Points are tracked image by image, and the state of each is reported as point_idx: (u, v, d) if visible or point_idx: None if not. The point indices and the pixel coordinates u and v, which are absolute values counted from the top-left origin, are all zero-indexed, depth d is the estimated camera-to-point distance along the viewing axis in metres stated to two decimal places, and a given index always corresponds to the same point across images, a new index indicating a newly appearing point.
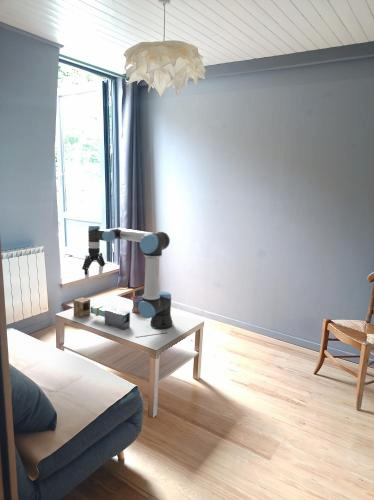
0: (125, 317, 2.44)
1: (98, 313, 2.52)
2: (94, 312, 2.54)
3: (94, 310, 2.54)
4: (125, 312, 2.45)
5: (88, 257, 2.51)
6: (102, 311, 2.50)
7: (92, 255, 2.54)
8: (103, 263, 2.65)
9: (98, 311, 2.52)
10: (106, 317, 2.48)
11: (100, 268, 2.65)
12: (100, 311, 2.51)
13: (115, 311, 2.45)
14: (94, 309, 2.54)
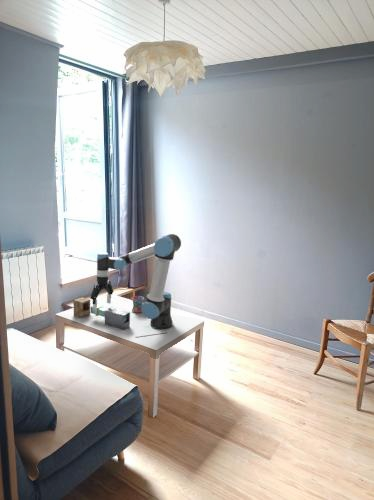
0: (125, 317, 2.44)
1: (98, 313, 2.52)
2: (94, 312, 2.54)
3: (94, 310, 2.54)
4: (125, 312, 2.45)
5: (96, 286, 2.43)
6: (102, 311, 2.50)
7: (101, 284, 2.47)
8: (111, 291, 2.58)
9: (98, 311, 2.52)
10: (106, 317, 2.48)
11: (108, 296, 2.57)
12: (100, 311, 2.51)
13: (115, 311, 2.45)
14: (94, 309, 2.54)
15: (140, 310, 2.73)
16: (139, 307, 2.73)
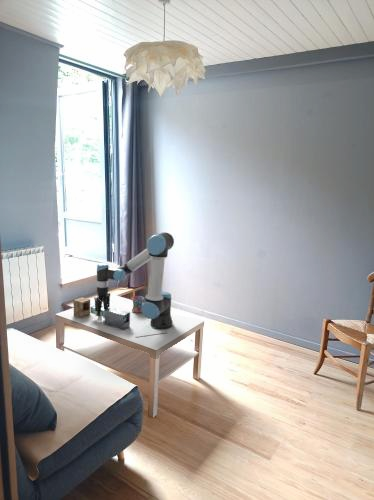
0: (125, 317, 2.44)
1: None
2: (94, 312, 2.54)
3: (94, 310, 2.54)
4: (125, 312, 2.45)
5: (97, 299, 2.45)
6: (102, 311, 2.50)
7: (100, 294, 2.48)
8: (108, 305, 2.56)
9: None
10: (106, 317, 2.48)
11: None
12: None
13: (115, 311, 2.45)
14: (94, 309, 2.54)
15: (140, 310, 2.73)
16: (139, 307, 2.73)
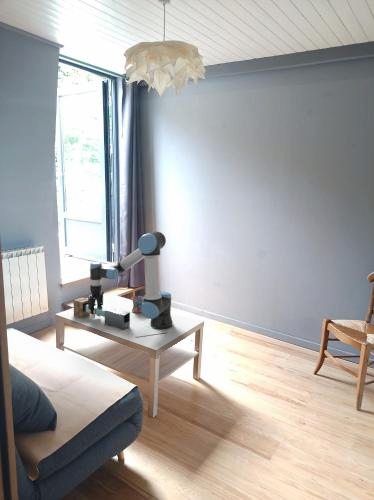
0: None
1: None
2: (88, 310, 2.57)
3: None
4: (125, 312, 2.45)
5: (90, 297, 2.48)
6: (95, 309, 2.53)
7: (93, 293, 2.51)
8: (101, 303, 2.59)
9: None
10: (106, 317, 2.48)
11: None
12: None
13: (115, 311, 2.45)
14: None
15: (140, 310, 2.73)
16: (139, 307, 2.73)
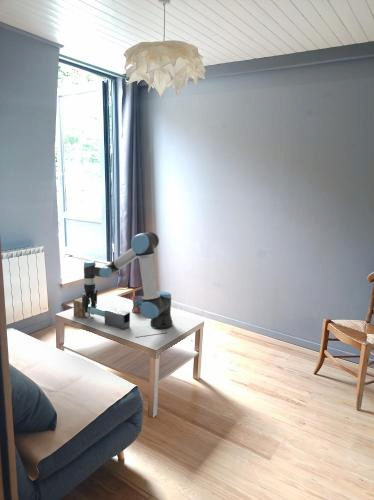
0: None
1: None
2: None
3: None
4: (125, 312, 2.45)
5: (84, 296, 2.51)
6: (89, 307, 2.56)
7: (87, 291, 2.53)
8: (95, 301, 2.62)
9: None
10: (106, 317, 2.48)
11: None
12: None
13: (115, 311, 2.45)
14: None
15: (140, 310, 2.73)
16: (139, 307, 2.73)
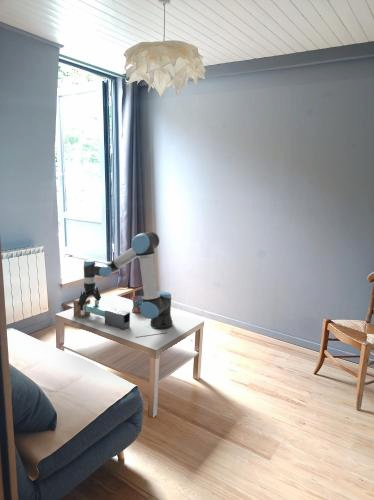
0: None
1: (85, 309, 2.58)
2: None
3: None
4: (125, 312, 2.45)
5: (84, 293, 2.50)
6: (89, 307, 2.56)
7: (88, 290, 2.54)
8: (99, 297, 2.65)
9: (85, 308, 2.58)
10: (106, 317, 2.48)
11: (96, 302, 2.64)
12: (87, 308, 2.57)
13: (115, 311, 2.45)
14: None
15: (140, 310, 2.73)
16: (139, 307, 2.73)
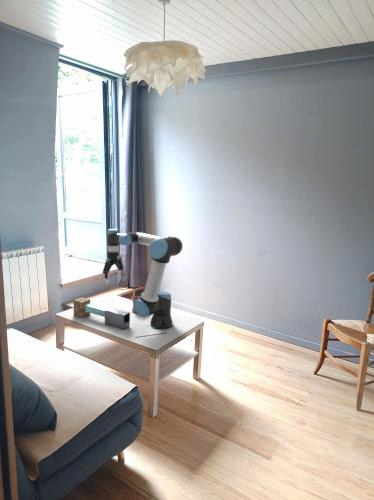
0: None
1: (85, 309, 2.58)
2: None
3: None
4: (125, 312, 2.45)
5: (108, 261, 2.53)
6: (89, 307, 2.56)
7: (112, 259, 2.57)
8: (121, 267, 2.68)
9: (85, 308, 2.58)
10: (106, 317, 2.48)
11: (119, 272, 2.67)
12: (87, 308, 2.57)
13: (115, 311, 2.45)
14: None
15: None
16: None
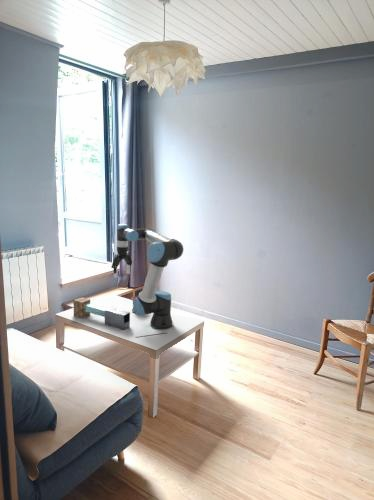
0: None
1: (85, 309, 2.58)
2: None
3: None
4: (125, 312, 2.45)
5: (117, 256, 2.56)
6: (89, 307, 2.56)
7: (121, 254, 2.59)
8: (130, 262, 2.70)
9: (85, 308, 2.58)
10: (106, 317, 2.48)
11: (127, 267, 2.69)
12: (87, 308, 2.57)
13: (115, 311, 2.45)
14: None
15: None
16: None
